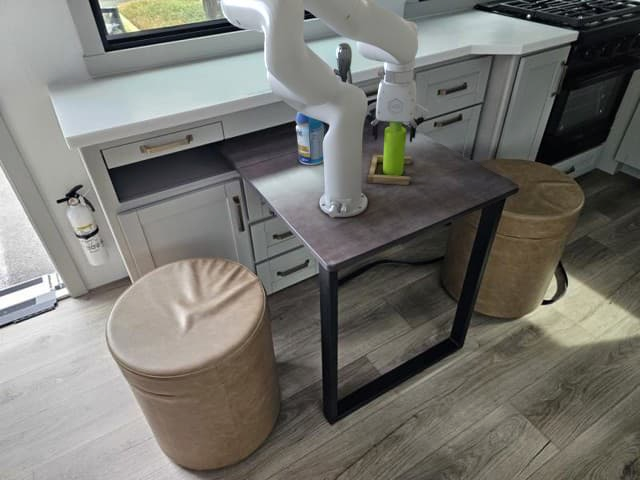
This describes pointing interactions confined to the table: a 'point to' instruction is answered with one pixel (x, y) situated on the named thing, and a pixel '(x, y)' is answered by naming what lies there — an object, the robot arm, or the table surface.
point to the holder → (386, 178)
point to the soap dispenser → (394, 149)
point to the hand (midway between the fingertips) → (393, 139)
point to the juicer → (343, 65)
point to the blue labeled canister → (309, 139)
